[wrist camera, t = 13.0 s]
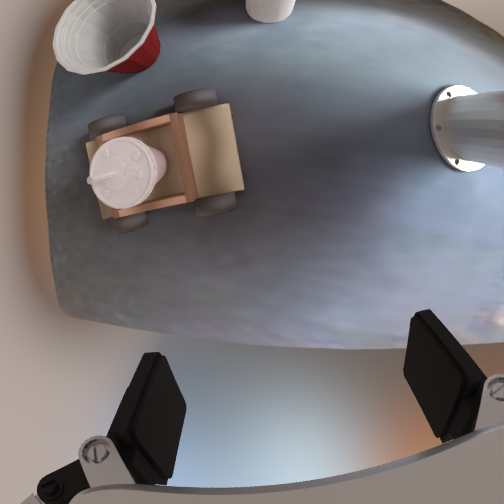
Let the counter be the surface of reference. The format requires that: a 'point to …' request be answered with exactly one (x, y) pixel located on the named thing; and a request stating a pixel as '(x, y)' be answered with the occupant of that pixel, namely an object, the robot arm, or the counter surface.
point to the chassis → (180, 158)
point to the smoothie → (126, 171)
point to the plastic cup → (107, 36)
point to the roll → (269, 10)
